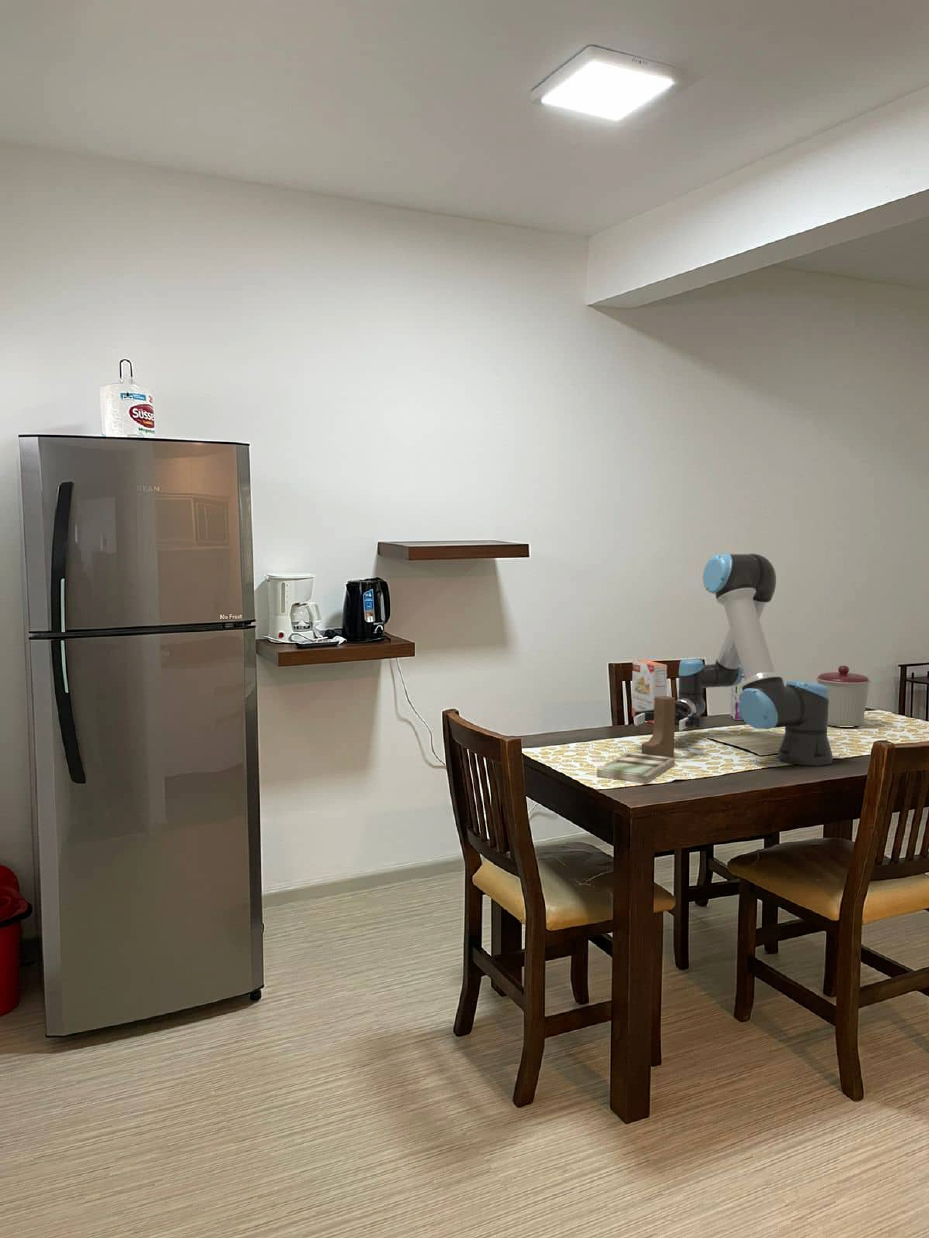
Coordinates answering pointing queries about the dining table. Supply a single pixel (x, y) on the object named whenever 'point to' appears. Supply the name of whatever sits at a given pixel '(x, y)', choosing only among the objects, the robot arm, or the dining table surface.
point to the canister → (845, 696)
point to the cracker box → (647, 684)
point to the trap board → (636, 767)
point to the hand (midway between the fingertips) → (657, 723)
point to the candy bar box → (736, 698)
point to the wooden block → (662, 728)
